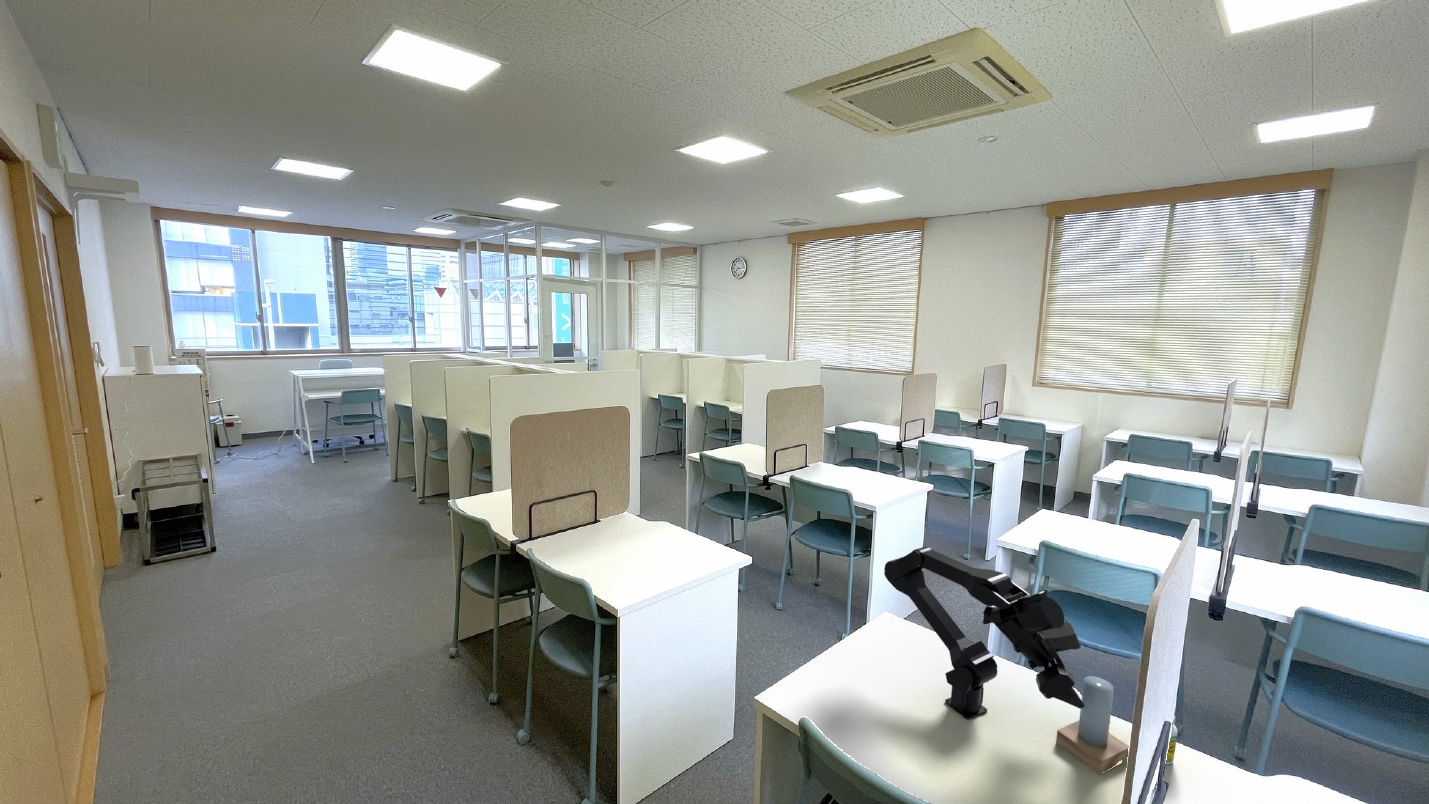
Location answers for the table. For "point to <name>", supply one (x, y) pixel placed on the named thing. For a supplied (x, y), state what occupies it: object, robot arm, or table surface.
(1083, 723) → the slate bottle
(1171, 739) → the supplement bottle
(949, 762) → the table surface
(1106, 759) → the walnut base
